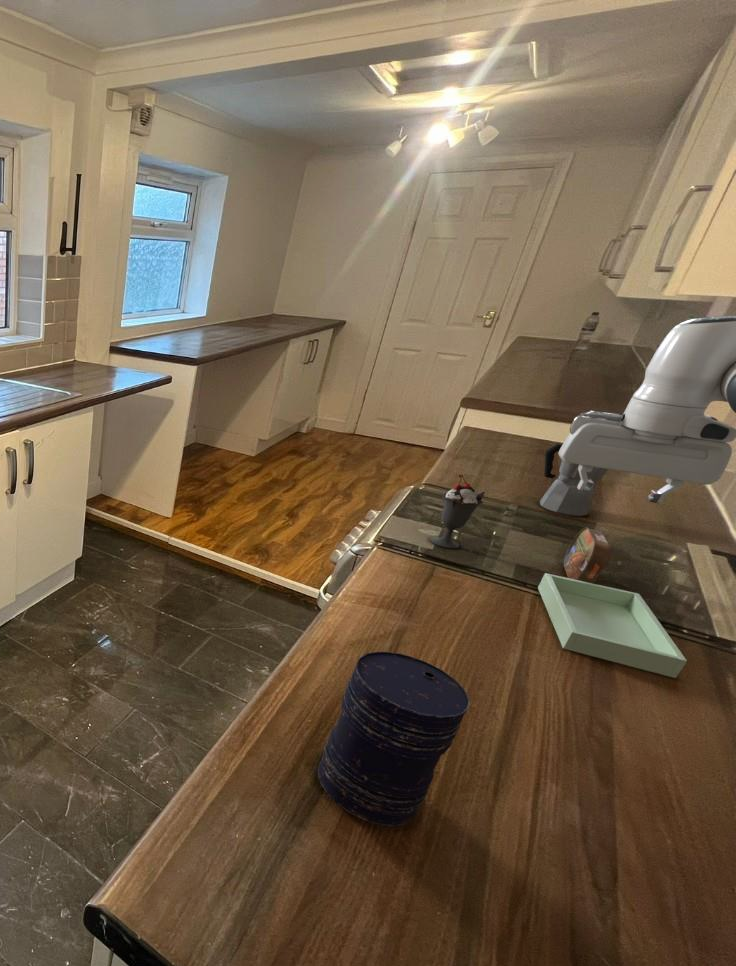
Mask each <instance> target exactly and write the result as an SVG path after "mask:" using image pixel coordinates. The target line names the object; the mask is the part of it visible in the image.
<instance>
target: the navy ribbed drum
mask: <svg viewBox="0 0 736 966" xmlns="http://www.w3.org/2000/svg"><path fill="white" fill-rule="evenodd" d="M469 707H470V698H469V694H468V693H467V691H466V689H465V688H464V687H463V685H462V684H461V683H459V681H457V680H456V679H455V678H454V677H453V676H451V675H450V674H449V673H447V672H446V671H444V670H443V669H442V668H439V667H437V666H436V665H434V664H432V663H429V662H427V661H426V660H425V661H424V660H422V659H419V658H417V657H414V656H412V655H411V656H410V655H408V654H403V653H399V652H393V651H371V652H368V653H365V654H363V655H361V656H360V657H359V658H358V660H357V661H356V663H355V666H354V670H353V671H352V675H351V677H350V679H349V680H348V681H347V684H346V688H345V691H344V694H343V696H342V699H341V707H340V708H341V711H340V715H339V717H338V720H337V722H336V725H334V726H333V727H332V729H331V732H330V734H329V736H328V738H327V739H326V742H325V745H324V747H323V751H322V757H321V760H320V762H319V764H318V768H317V776H318V780H319V782H320V785H321V786H322V788H323V790H324V791H325V792H326V794H327V795H328V796H329V797H330V798H331V799H332V800H333V802H335V803H336V804H337V805H338V806H339V807H340V808H342V809H344V810H345V811H346V812H348V813H349V814H351V815H353V816H355V817H356V818H359V819H360V820H363V821H366V822H369V823H371V824H375V825H379V826H384V827H385V826H386V827H397V826H402V825H405V824H407V823H409V822H411V821H412V819H414V818H415V815H416V813H417V811H418V808H419V807H420V805H421V804H422V803H423V802H424V801H425V798H426V796H427V795H428V792H429V790H430V785H431V783H432V782H433V779H434V776H435V769H436V767H437V765H438V763H439V760H440V759H441V756H443V755H444V754H445V753H446V752H448V750H449V749H450V747H451V746H452V744H453V740H454V739H455V738H456V736H457V734H458V731H459V730H460V727H461V723H462V721H463V719H464V716H466V713H467V711H468V709H469Z"/></svg>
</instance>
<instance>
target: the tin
mask: <svg viewBox="0 0 736 966" xmlns="http://www.w3.org/2000/svg"><path fill="white" fill-rule="evenodd" d="M611 555H612V547H611V545H610V542H609V541H608V538H607V537H606V535H605V533H604V532H602V531H599V530H595V529H592V528H589V527H583V528H582V529H581V530H580V531H579V532H578V533H577V534H576V536H575V537H574V538H573V539H572V541H571V542H570V545H569V546H568V549H567V552H566V553H565V556H564V559H563V567H564V571H565V574H566V578H570V579H574V580H579V581H583V582H588V583H592V584H595V583H596V582H597V580H598V578H599V576H600V575H601V573H602V572H603V570H604V568H605V567H606V566H607V565H608V563H609V561H610V558H611Z"/></svg>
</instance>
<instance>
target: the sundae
mask: <svg viewBox="0 0 736 966" xmlns="http://www.w3.org/2000/svg"><path fill="white" fill-rule="evenodd" d="M458 477H459V478H460V480H459V482H458V483H456V484H455V485H454V488H452V489H449V490H448V491H447V492H444V493H443V494H442V496H441V497H442V499H443V500H444V505H443V509H442V514H441V523H442V525H444V526H445V528H446V529H445V532H444V534H443V535H442V536H441V537H436V536H435V537H432V538H430V542H431V543H432V544H434V545H436V546H437V547H442V548H445V549H453V550H455V549H458V548H459V546H460V545H459V544H458V543H457V542H456V541H454V540H453V539H452V535H453V532H454V531H455V530H457V529H461V528H463V527H464V526H465V525H466V524H467V522H468V521H469V519H470V518H471V516H472V515H473V513H474V511H475V510H476V508H477V507H478V506H480V505H483V503H484V501H483V498H484V497H485V494H486V492H485V491H481V492H480V493H478V492H477V490H476V489H475V488H474V486H471V484H469V483H467V481H466V480H465V477H464V475H463V474H458ZM462 479H463V481H464V484H463V485H461V482H462Z"/></svg>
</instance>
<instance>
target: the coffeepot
mask: <svg viewBox="0 0 736 966" xmlns="http://www.w3.org/2000/svg"><path fill="white" fill-rule="evenodd" d="M562 445H563V443H556V444H554V445H552V446H550V447H549V448H547V449H546V450H545V452H544V453H545V454H544V474H543V476H544V477H545V478H547V479H554V478H556V477H557V475H556V474H554V473H552V470H553V468H554V459H555V454H557V453H559V450H560V448H561V446H562ZM578 467H579V464H572V463H566V462H564V461H563V460H562V459H561V462H560V467H559V470H558V472H559V475H558V478H557V479H555V480H554V481H553V482H552V484H551V485H550V486H549V488H548V489H547V490H546V492H545V493H544V495H543V496H542V497H541V499H540V500H539V504H540V506H541V507H542V508H543V509H545V510H548V511H551V512H554V513H557V514H561V515H565V516H566V515H567V516H574V517H582V516H583V517H585V516H587V515H589V514H590V513H589V512H590V509H591V504H592V501H593V497H594V494H595V490H596V489H595V487H596V484H597V483H598V482H600V481H601V480H602V479H603V477H604V476H605V475H606V473H607V472H608V471H609V469H604V468H598V467H593V469H592V471H591V472H586V473H587V477H588V480H592V482H594V484H593V486H592V487H591V490H590V491H584V490H578V488H577V487H578V484H579V482H580V480H581V478H580V474H579V470H578Z"/></svg>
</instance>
